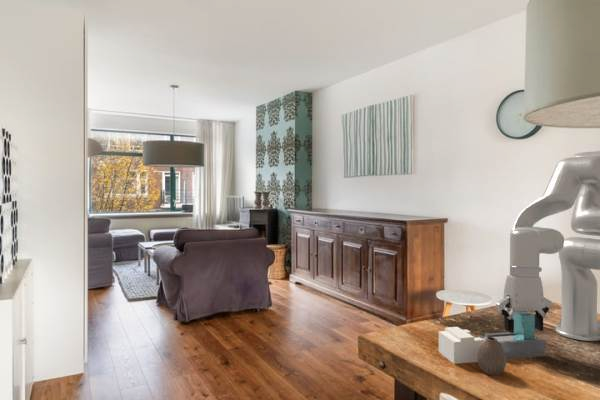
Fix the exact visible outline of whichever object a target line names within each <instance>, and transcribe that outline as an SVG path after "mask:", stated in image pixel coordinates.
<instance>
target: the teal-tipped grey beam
mask: <svg viewBox="0 0 600 400" xmlns="http://www.w3.org/2000/svg"><path fill="white" fill-rule="evenodd" d="M512 319H514V333H513V335H512V336H498V337H493V338H496V339H497V341H498V342H501V341H514V340H527V339H536V337H535V334H536V332H535V331H536V330H535V315H534V314H532V313H529V312H516V313H515V315H514V316H513V318H512ZM486 338H487V337H485V336H484V337H482V339H483V340H484V342H485V340H486Z"/></svg>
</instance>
